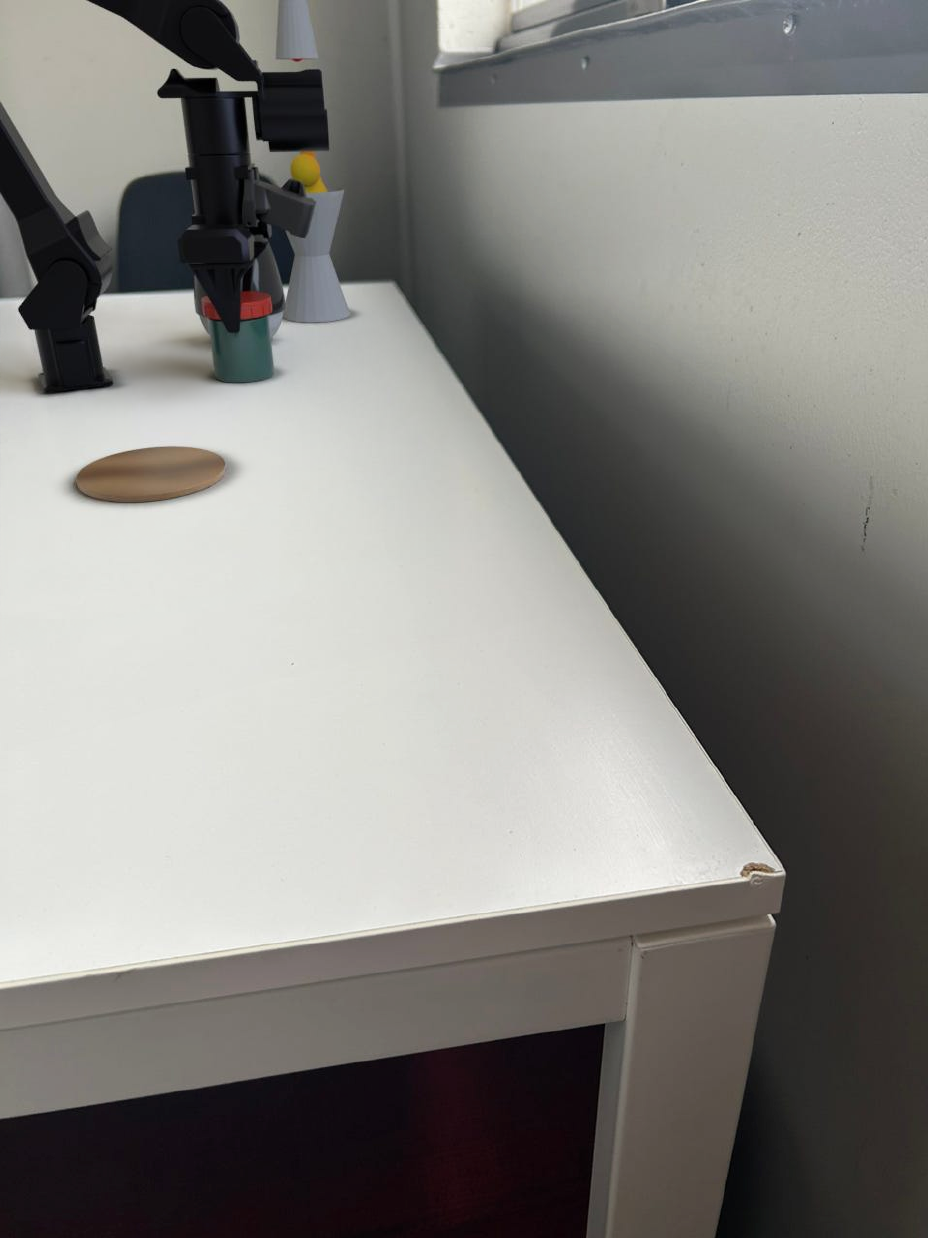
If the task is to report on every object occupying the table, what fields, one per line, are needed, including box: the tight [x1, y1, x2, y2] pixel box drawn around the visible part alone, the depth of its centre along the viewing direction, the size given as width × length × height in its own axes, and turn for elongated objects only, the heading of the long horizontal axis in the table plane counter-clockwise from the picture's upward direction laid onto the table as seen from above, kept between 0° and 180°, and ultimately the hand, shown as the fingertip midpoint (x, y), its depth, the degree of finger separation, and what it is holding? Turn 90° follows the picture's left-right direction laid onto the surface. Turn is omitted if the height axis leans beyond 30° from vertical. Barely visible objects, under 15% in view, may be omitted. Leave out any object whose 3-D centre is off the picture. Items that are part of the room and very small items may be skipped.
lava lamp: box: [275, 0, 351, 323], centre depth 119 cm, size 9×9×35 cm
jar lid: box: [201, 291, 273, 320], centre depth 98 cm, size 7×7×2 cm
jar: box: [208, 315, 275, 384], centre depth 100 cm, size 6×6×7 cm
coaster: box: [75, 445, 227, 503], centre depth 76 cm, size 11×11×1 cm
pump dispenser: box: [193, 235, 286, 339], centre depth 111 cm, size 10×10×15 cm
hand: (239, 324), depth 99 cm, fingers closed on jar lid, 7 cm apart
